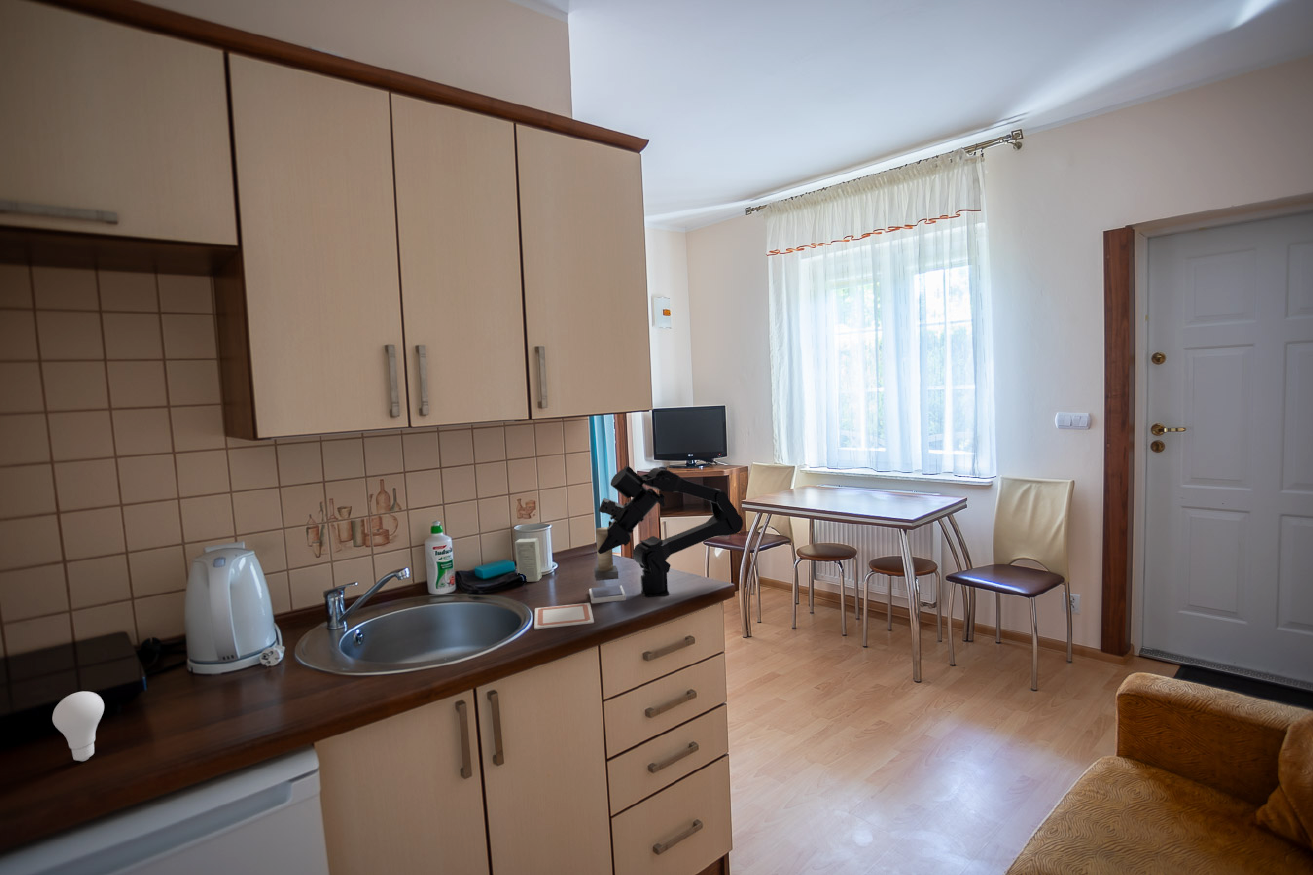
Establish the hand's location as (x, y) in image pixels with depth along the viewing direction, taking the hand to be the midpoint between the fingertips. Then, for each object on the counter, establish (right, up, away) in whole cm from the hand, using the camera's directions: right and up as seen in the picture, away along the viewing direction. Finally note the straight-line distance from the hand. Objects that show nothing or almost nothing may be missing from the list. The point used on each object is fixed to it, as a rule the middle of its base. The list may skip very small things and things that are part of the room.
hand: (599, 550), depth 172 cm
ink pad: (+2, -12, +1) cm, 13 cm away
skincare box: (-23, -12, +20) cm, 32 cm away
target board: (-8, -14, -13) cm, 21 cm away
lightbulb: (-76, -21, -69) cm, 105 cm away
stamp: (+2, -7, +1) cm, 7 cm away
